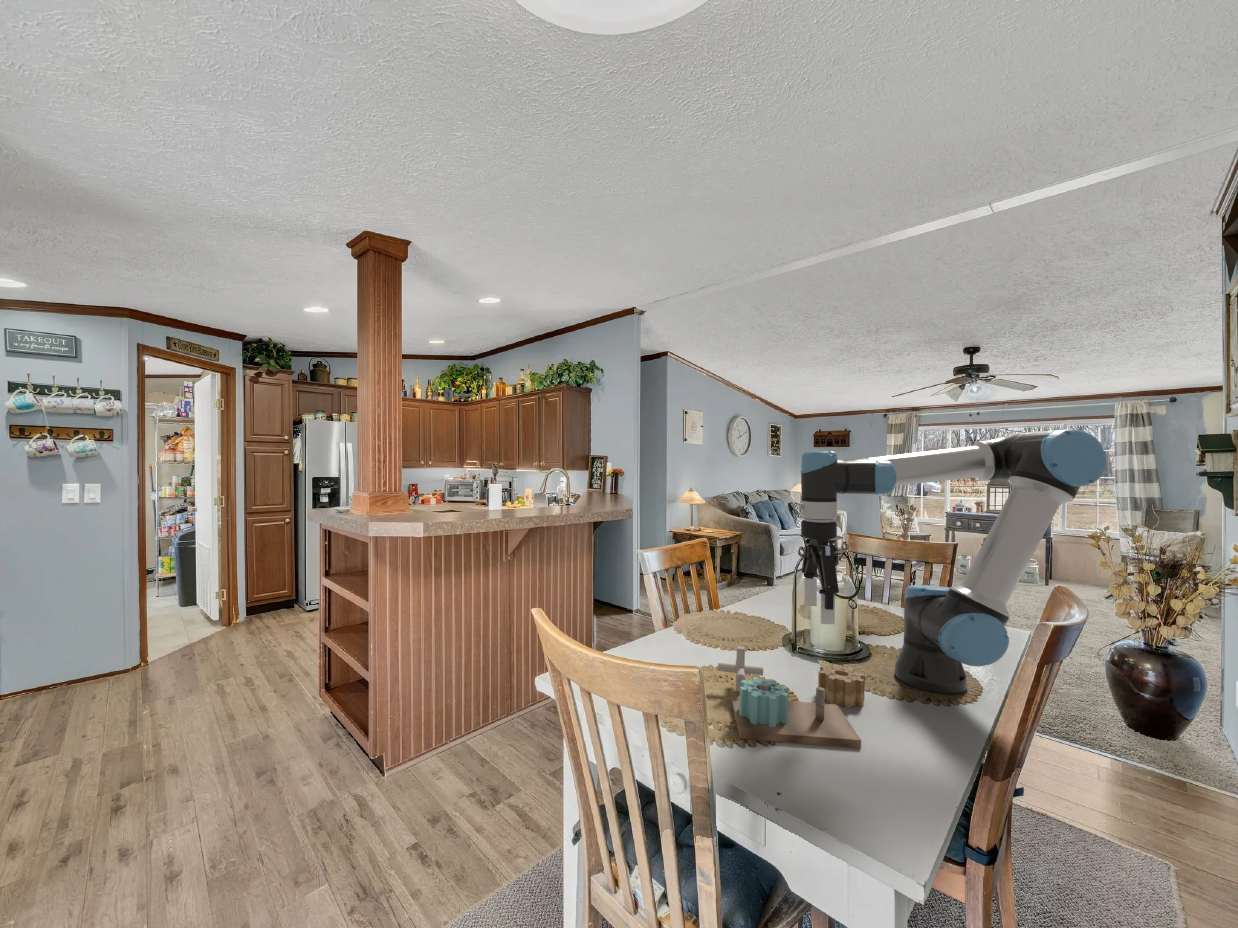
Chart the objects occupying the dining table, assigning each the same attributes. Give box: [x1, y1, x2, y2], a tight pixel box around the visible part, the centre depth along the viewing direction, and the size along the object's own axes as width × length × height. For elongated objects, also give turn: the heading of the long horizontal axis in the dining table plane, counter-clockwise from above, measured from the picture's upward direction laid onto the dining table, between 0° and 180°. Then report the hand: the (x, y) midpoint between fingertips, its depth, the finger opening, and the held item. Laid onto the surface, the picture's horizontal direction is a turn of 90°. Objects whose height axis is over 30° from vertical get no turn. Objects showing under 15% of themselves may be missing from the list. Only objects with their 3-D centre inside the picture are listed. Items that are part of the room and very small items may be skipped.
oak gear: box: [817, 664, 866, 709], centre depth 116 cm, size 10×10×6 cm
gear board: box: [730, 684, 862, 749], centre depth 104 cm, size 22×14×8 cm, turn 84°
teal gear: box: [739, 676, 789, 727], centre depth 104 cm, size 10×10×6 cm
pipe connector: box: [717, 645, 764, 692], centre depth 118 cm, size 10×10×10 cm
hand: (818, 614), depth 116 cm, fingers open, 13 cm apart
